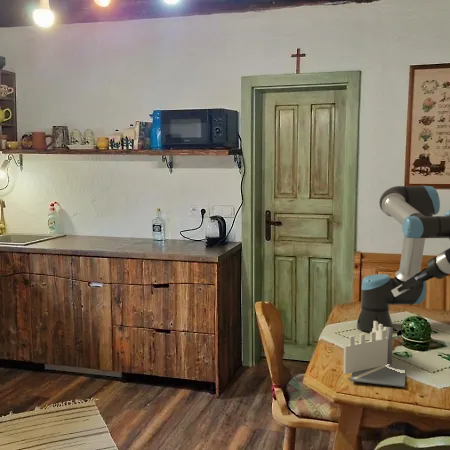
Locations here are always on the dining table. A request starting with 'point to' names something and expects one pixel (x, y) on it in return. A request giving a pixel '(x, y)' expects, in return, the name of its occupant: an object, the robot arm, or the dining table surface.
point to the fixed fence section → (389, 335)
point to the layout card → (379, 376)
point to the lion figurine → (397, 342)
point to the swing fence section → (365, 352)
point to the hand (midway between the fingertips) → (394, 293)
